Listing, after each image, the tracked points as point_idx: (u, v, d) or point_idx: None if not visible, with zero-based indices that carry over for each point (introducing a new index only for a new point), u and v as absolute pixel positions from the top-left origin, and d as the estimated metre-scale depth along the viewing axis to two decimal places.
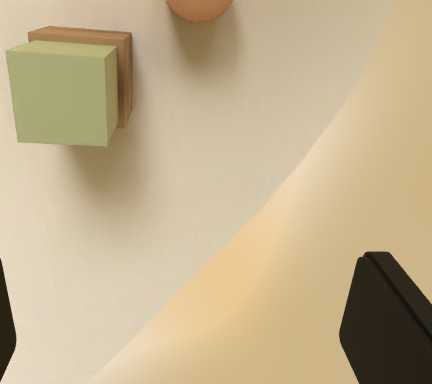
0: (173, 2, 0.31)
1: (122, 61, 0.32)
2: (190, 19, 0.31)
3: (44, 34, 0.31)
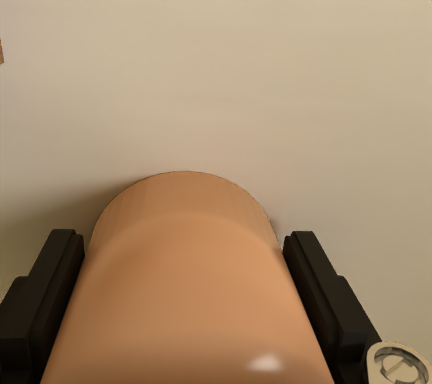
0: (90, 381, 0.06)
1: None
2: None
3: None
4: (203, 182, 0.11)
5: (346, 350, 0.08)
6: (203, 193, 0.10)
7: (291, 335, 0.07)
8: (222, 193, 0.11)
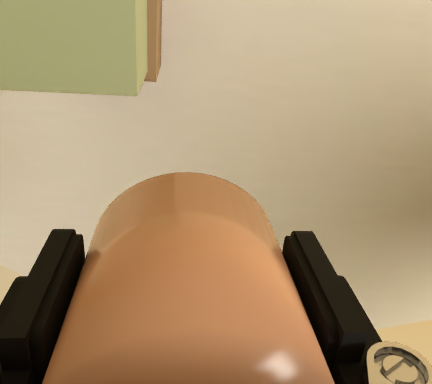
0: (91, 382, 0.06)
1: None
2: None
3: None
4: (203, 183, 0.11)
5: (346, 350, 0.08)
6: (203, 194, 0.10)
7: (292, 337, 0.07)
8: (222, 194, 0.11)
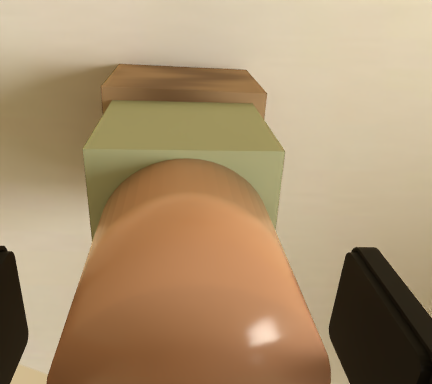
0: (106, 331, 0.07)
1: None
2: None
3: None
4: (202, 167, 0.12)
5: None
6: (203, 176, 0.11)
7: (282, 293, 0.08)
8: (220, 176, 0.12)
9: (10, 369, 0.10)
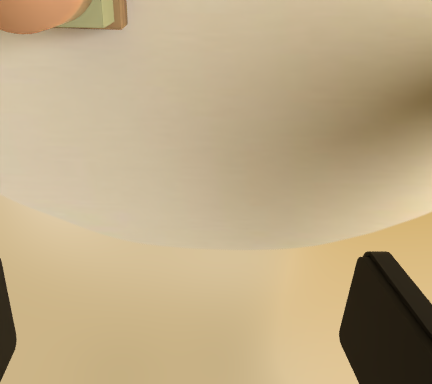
0: None
1: None
2: None
3: None
4: None
5: None
6: None
7: None
8: None
9: None
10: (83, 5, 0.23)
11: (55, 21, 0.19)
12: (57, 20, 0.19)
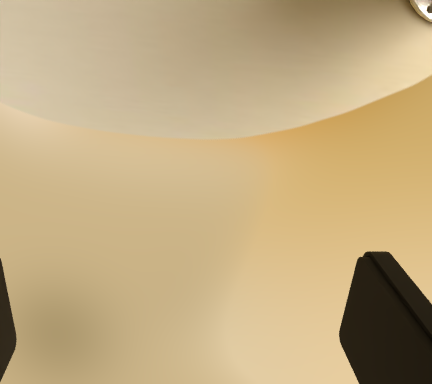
0: None
1: None
2: None
3: None
4: None
5: None
6: None
7: None
8: None
9: None
10: None
11: None
12: None
